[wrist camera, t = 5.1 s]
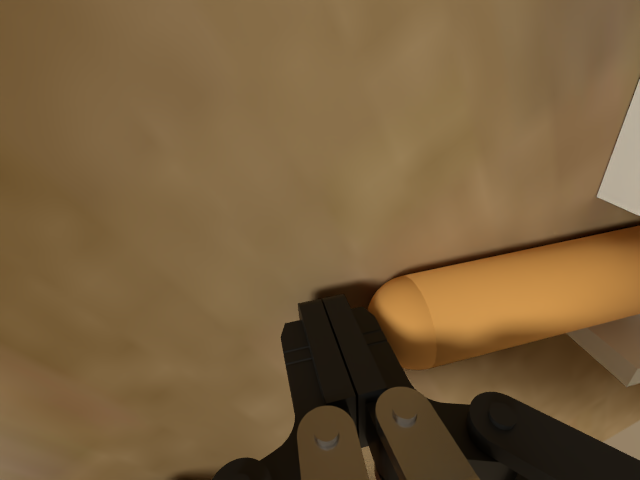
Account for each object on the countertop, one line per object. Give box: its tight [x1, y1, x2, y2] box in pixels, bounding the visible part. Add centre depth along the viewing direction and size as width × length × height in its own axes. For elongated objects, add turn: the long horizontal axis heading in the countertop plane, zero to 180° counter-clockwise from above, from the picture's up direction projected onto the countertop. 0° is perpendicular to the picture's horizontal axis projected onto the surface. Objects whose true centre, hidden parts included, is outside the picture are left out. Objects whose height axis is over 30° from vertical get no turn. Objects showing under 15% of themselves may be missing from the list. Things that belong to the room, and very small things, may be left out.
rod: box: [368, 226, 640, 370], centre depth 12 cm, size 3×13×3 cm, turn 95°
